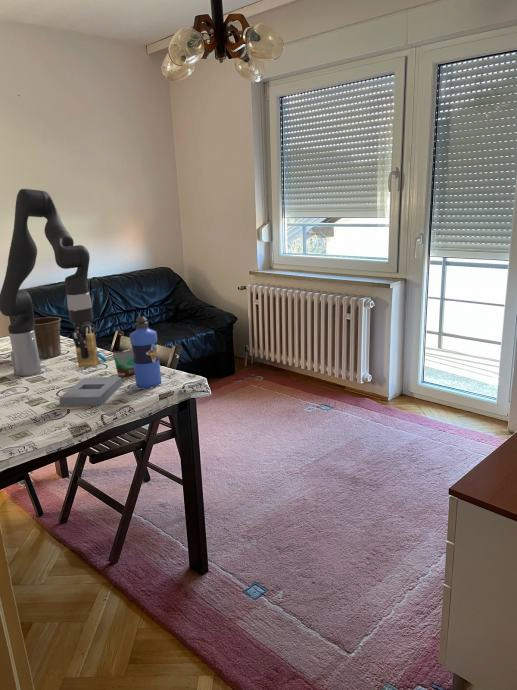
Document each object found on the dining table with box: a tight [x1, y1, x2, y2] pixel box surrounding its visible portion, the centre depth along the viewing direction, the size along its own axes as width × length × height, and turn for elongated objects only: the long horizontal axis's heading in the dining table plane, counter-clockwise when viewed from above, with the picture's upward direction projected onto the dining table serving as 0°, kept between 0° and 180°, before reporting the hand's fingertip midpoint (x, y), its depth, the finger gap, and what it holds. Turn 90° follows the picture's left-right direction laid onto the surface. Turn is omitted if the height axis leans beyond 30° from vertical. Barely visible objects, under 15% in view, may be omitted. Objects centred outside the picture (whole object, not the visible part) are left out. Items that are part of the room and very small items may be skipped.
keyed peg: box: [74, 332, 100, 368], centre depth 178 cm, size 3×6×11 cm, turn 85°
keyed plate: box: [58, 376, 123, 407], centre depth 181 cm, size 14×20×3 cm
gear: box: [97, 350, 107, 362], centre depth 221 cm, size 11×6×10 cm
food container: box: [112, 347, 135, 378], centre depth 201 cm, size 12×6×10 cm, turn 148°
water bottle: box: [129, 315, 162, 389], centre depth 186 cm, size 9×9×25 cm
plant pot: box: [34, 316, 62, 360], centre depth 234 cm, size 16×16×16 cm
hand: (87, 356), depth 178 cm, fingers closed on keyed peg, 3 cm apart
